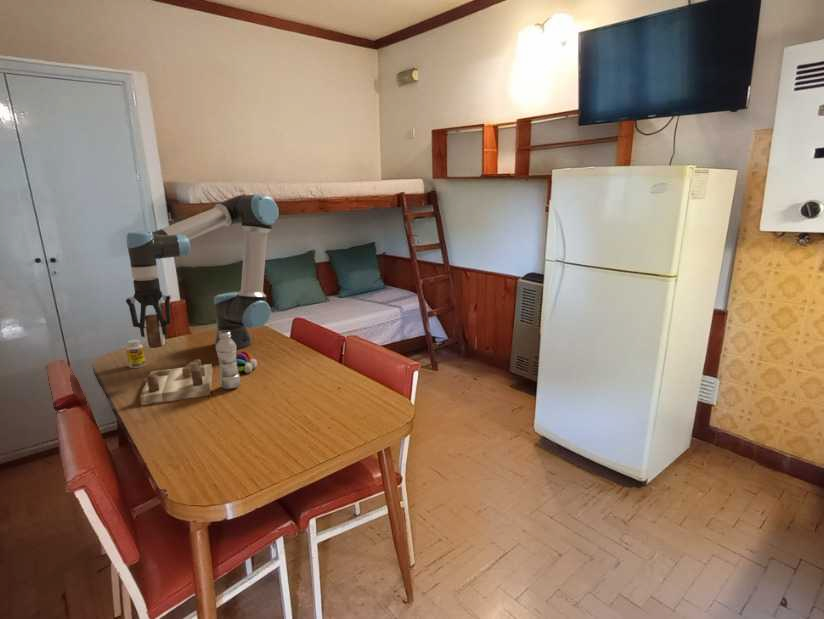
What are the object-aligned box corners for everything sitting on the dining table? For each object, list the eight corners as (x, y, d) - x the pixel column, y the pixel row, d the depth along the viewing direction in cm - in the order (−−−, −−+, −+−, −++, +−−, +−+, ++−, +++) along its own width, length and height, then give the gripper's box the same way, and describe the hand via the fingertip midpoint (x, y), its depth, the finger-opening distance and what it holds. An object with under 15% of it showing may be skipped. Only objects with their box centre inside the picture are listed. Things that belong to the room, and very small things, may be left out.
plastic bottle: (234, 392, 154) (228, 335, 149) (216, 390, 155) (209, 334, 150) (245, 384, 160) (239, 329, 155) (227, 382, 162) (221, 328, 157)
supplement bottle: (131, 369, 174) (127, 344, 172) (127, 365, 178) (123, 340, 175) (147, 365, 178) (143, 340, 175) (143, 362, 182) (139, 337, 179)
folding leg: (195, 366, 168) (194, 359, 167) (202, 366, 168) (201, 359, 167) (182, 376, 159) (181, 368, 158) (190, 376, 159) (189, 368, 158)
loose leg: (163, 343, 162) (158, 313, 159) (161, 347, 159) (157, 316, 156) (150, 345, 161) (145, 314, 158) (148, 348, 157) (143, 317, 154)
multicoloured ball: (260, 366, 177) (258, 348, 175) (248, 376, 168) (246, 357, 166) (239, 365, 178) (237, 347, 176) (226, 375, 169) (224, 356, 167)
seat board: (212, 371, 172) (210, 351, 170) (209, 395, 152) (207, 372, 150) (152, 379, 165) (149, 358, 163) (141, 405, 145) (137, 381, 143)
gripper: (175, 274, 160) (183, 338, 166) (119, 278, 154) (129, 344, 160) (172, 278, 153) (181, 344, 159) (113, 282, 147) (125, 350, 153)
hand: (155, 344), depth 159 cm, fingers closed on loose leg, 4 cm apart
